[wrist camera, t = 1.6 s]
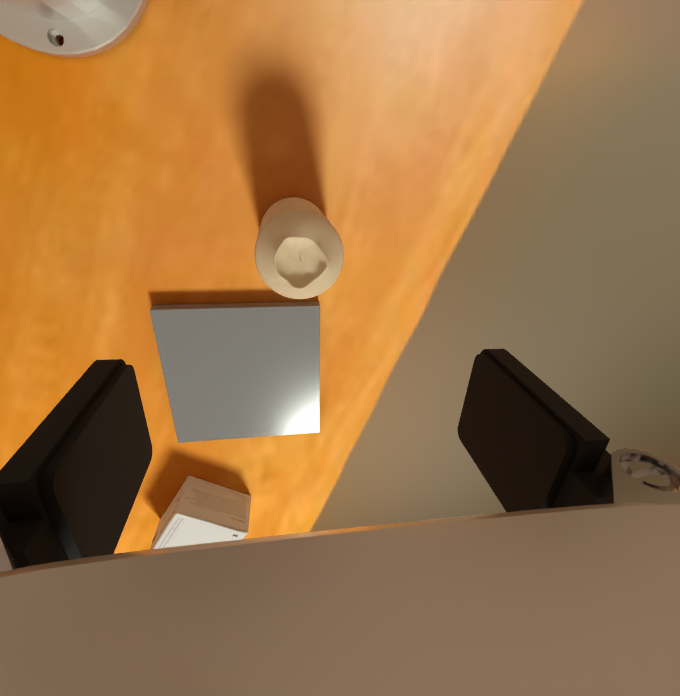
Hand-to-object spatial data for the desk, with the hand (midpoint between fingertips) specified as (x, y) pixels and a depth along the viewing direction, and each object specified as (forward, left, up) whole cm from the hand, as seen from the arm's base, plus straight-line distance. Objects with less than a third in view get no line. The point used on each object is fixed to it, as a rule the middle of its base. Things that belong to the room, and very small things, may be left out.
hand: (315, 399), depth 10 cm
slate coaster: (+13, -5, -23) cm, 27 cm away
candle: (0, 0, -24) cm, 24 cm away
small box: (+30, -11, -24) cm, 40 cm away
